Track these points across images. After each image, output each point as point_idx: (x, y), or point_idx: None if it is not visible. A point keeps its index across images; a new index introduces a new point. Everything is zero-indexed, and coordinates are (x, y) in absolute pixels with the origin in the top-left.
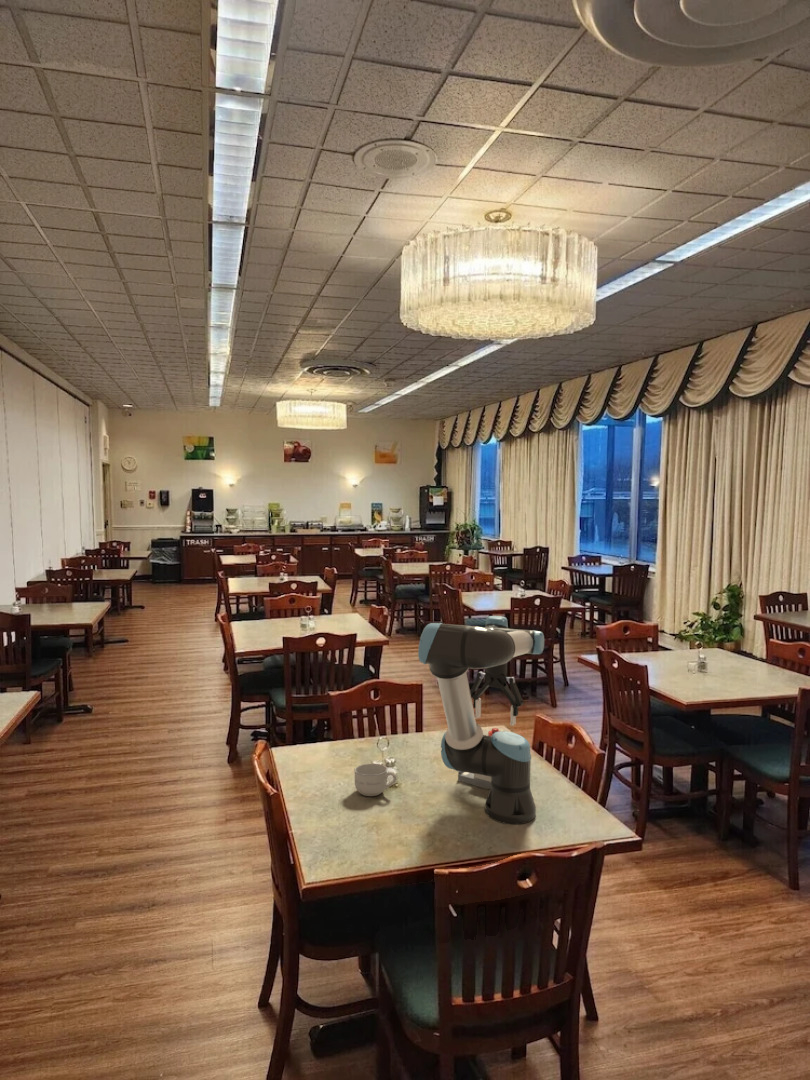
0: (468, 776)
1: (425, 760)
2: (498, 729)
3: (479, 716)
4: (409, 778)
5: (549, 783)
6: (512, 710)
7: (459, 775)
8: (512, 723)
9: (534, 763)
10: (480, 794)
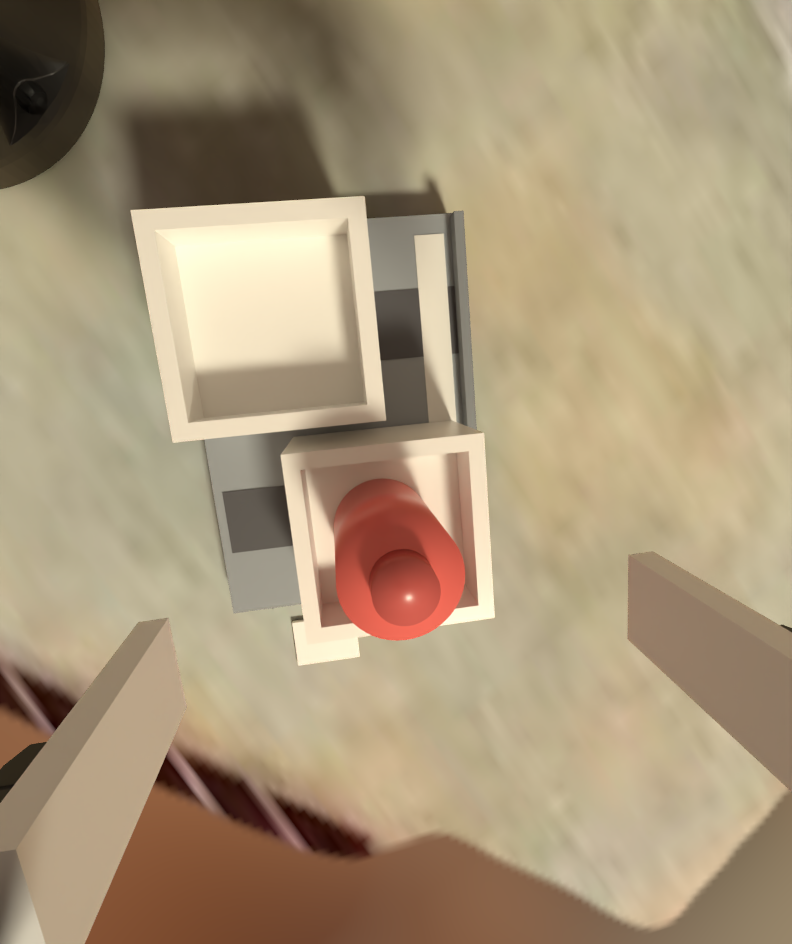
0: (392, 231)
1: (740, 338)
2: (376, 609)
3: (633, 611)
4: (687, 54)
5: (32, 539)
6: (13, 791)
7: (447, 214)
8: (125, 642)
9: (254, 701)
10: (237, 139)
